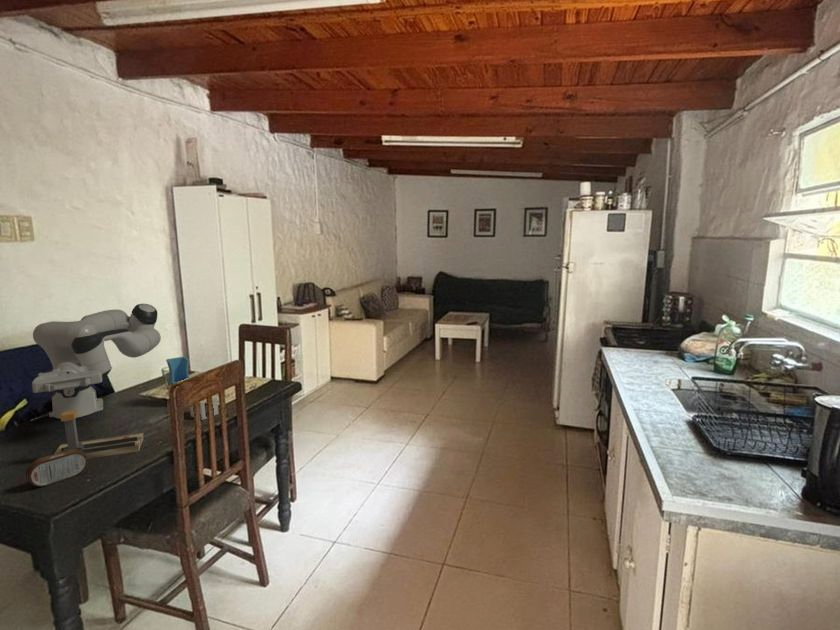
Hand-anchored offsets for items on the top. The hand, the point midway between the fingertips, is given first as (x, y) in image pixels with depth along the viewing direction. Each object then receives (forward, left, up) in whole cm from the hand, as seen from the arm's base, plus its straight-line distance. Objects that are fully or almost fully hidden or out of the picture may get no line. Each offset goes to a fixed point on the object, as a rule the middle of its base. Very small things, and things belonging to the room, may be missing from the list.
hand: (68, 386), depth 165 cm
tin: (+28, +2, -22) cm, 35 cm away
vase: (-32, +31, -22) cm, 50 cm away
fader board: (+9, +9, -22) cm, 25 cm away
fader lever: (+12, +2, -19) cm, 23 cm away
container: (-12, +41, -22) cm, 48 cm away
